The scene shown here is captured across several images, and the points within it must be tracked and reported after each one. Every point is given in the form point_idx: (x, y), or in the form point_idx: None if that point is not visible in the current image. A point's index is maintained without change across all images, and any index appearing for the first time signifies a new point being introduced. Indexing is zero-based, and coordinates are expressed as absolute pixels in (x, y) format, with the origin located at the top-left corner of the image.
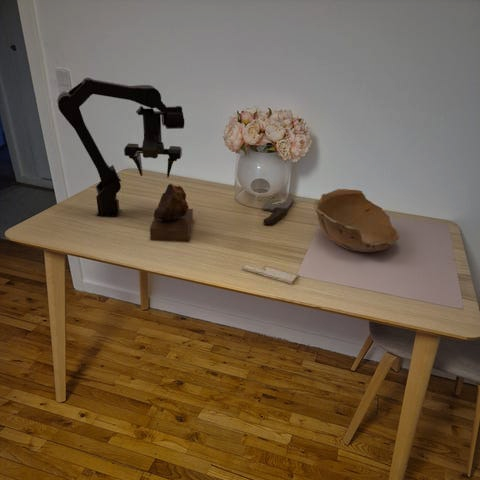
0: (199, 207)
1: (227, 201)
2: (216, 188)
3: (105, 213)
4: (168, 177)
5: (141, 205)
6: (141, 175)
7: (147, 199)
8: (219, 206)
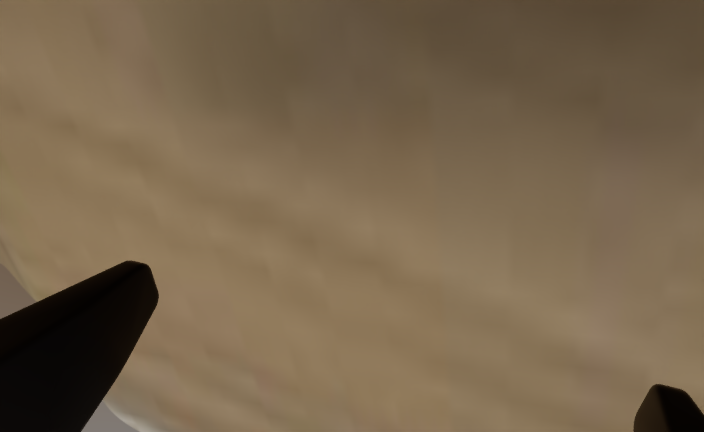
0: (128, 129)
1: (20, 222)
2: (145, 384)
3: None
4: (128, 262)
5: (623, 180)
6: (670, 395)
7: (551, 300)
8: (22, 146)
